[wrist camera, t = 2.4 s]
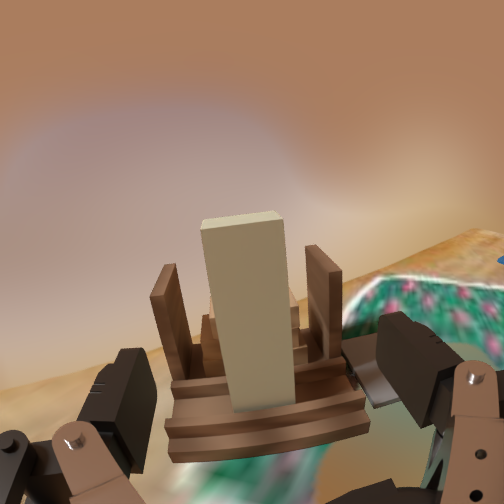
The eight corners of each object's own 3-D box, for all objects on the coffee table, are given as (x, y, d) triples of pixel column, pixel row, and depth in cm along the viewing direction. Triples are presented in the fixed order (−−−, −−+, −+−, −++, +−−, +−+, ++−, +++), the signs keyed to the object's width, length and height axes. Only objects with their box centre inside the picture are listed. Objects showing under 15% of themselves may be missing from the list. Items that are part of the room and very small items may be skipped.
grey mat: (417, 326, 36) (418, 322, 36) (467, 375, 25) (468, 370, 25) (337, 345, 35) (337, 341, 35) (374, 409, 25) (374, 404, 25)
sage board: (289, 389, 27) (275, 210, 22) (295, 412, 24) (283, 218, 20) (233, 397, 27) (202, 219, 22) (235, 421, 24) (200, 229, 19)
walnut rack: (318, 336, 38) (315, 244, 34) (368, 432, 22) (384, 313, 19) (185, 355, 37) (164, 264, 33) (172, 462, 21) (125, 350, 18)
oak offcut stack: (296, 335, 36) (292, 282, 34) (308, 364, 30) (306, 306, 28) (207, 348, 35) (197, 295, 33) (206, 379, 30) (193, 321, 28)
